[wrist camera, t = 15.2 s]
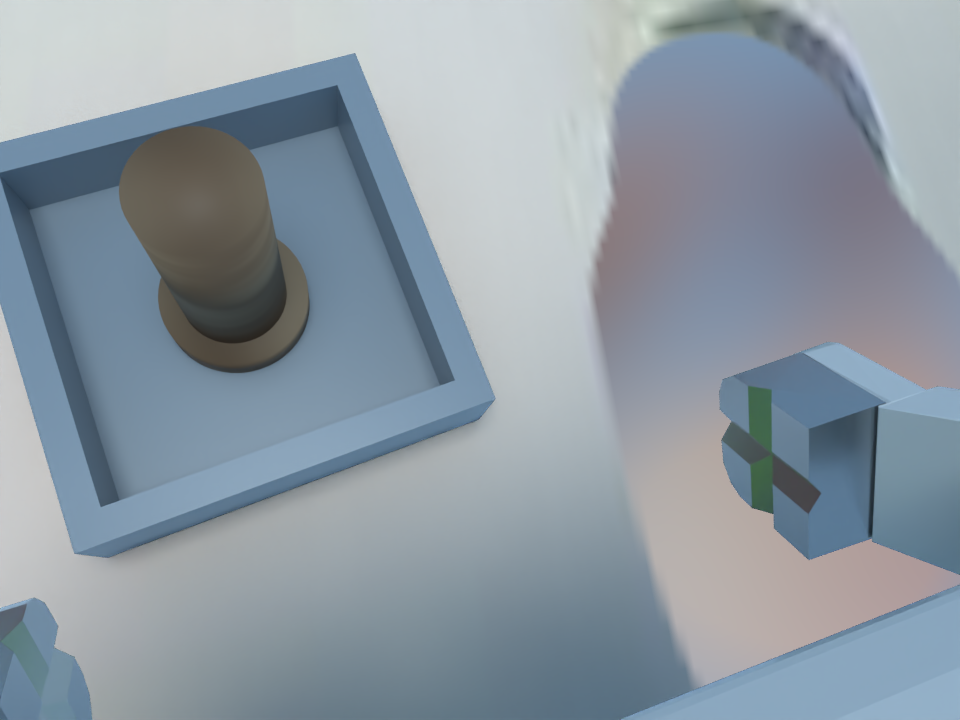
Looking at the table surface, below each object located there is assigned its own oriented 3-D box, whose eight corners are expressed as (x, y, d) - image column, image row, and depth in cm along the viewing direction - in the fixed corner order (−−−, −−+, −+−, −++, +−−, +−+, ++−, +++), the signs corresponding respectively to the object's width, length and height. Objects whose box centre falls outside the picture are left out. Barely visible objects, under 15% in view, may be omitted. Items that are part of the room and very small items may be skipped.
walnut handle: (284, 223, 30) (259, 80, 21) (328, 346, 29) (320, 249, 21) (147, 263, 29) (63, 129, 20) (189, 392, 28) (120, 309, 19)
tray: (353, 107, 33) (355, 53, 29) (478, 419, 30) (495, 398, 27) (-1, 202, 30) (-44, 153, 26) (107, 557, 27) (74, 553, 24)
